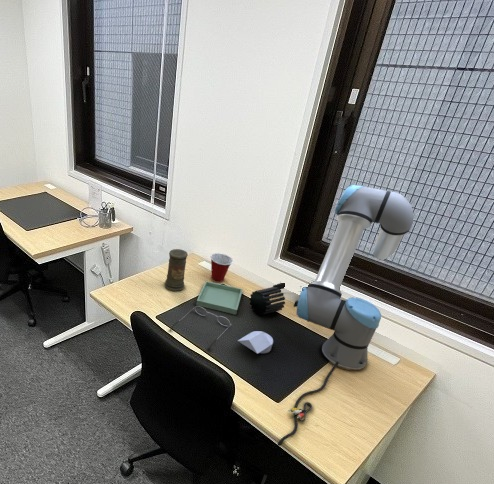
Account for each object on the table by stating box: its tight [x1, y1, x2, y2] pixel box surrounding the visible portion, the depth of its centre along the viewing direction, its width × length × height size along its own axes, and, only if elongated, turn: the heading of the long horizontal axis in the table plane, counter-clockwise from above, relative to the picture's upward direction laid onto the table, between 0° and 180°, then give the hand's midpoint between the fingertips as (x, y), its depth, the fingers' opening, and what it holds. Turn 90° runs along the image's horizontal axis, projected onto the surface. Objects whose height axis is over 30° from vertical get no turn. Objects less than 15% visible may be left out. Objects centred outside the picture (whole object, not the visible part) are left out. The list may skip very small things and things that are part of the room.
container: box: [164, 248, 188, 292], centre depth 177 cm, size 9×9×18 cm
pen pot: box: [249, 286, 286, 317], centre depth 164 cm, size 10×11×11 cm
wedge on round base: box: [237, 330, 274, 354], centre depth 144 cm, size 9×7×13 cm
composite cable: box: [288, 401, 313, 423], centre depth 118 cm, size 10×5×2 cm, turn 120°
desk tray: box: [195, 280, 244, 315], centre depth 173 cm, size 19×18×3 cm
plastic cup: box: [210, 252, 234, 283], centre depth 186 cm, size 11×11×12 cm
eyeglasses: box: [169, 305, 233, 351], centre depth 153 cm, size 18×19×4 cm
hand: (283, 295), depth 167 cm, fingers open, 13 cm apart
